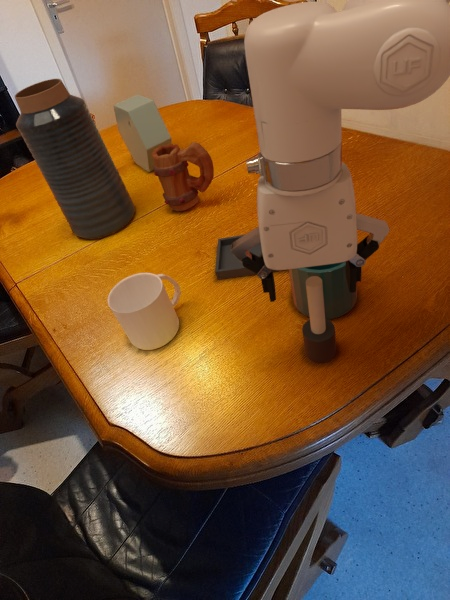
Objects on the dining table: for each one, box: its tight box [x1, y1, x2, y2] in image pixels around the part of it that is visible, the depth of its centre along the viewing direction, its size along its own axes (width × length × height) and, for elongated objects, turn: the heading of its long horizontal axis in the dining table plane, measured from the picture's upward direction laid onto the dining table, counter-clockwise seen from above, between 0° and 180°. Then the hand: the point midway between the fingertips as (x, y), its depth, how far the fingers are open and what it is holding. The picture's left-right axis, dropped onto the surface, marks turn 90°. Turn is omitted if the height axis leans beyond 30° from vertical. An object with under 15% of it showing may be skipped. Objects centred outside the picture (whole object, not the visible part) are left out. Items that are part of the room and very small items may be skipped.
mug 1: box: [107, 272, 182, 351], centre depth 67 cm, size 12×9×9 cm
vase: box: [14, 78, 136, 240], centre depth 90 cm, size 16×16×32 cm
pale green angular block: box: [112, 94, 173, 173], centre depth 113 cm, size 17×8×21 cm
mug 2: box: [152, 141, 215, 212], centre depth 92 cm, size 15×8×15 cm, turn 70°
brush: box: [301, 276, 337, 364], centre depth 54 cm, size 4×4×14 cm
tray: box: [214, 233, 289, 281], centre depth 77 cm, size 13×10×2 cm
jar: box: [288, 261, 358, 320], centre depth 63 cm, size 10×10×10 cm
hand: (311, 289), depth 51 cm, fingers open, 9 cm apart
